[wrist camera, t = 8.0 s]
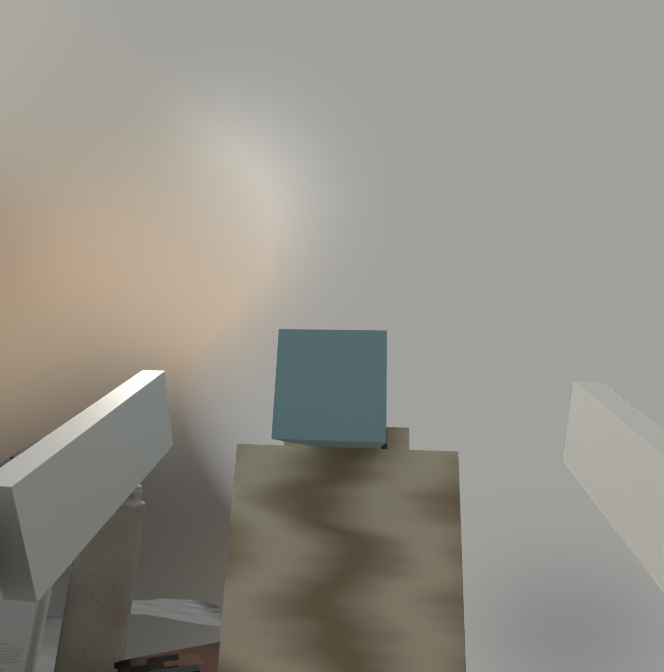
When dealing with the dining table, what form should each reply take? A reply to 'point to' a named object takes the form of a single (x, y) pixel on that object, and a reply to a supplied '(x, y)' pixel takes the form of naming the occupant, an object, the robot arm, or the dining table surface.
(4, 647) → the skincare box
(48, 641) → the dining table surface
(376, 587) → the pedestal
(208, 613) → the dining table surface
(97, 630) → the thermos bottle
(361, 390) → the bar
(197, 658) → the decorative book
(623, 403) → the robot arm
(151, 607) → the dining table surface
